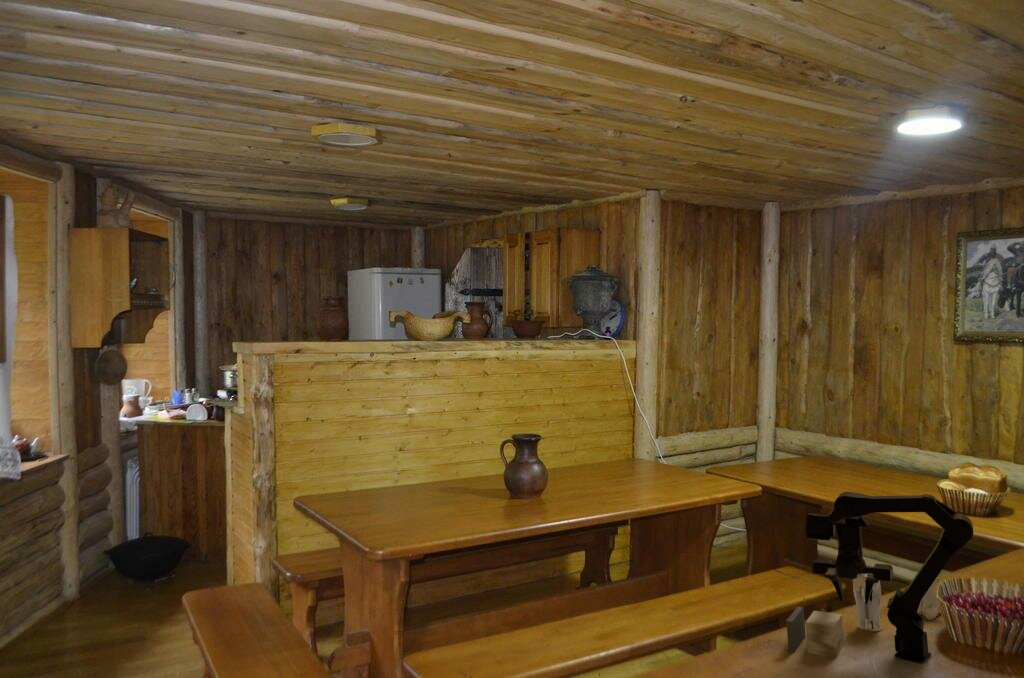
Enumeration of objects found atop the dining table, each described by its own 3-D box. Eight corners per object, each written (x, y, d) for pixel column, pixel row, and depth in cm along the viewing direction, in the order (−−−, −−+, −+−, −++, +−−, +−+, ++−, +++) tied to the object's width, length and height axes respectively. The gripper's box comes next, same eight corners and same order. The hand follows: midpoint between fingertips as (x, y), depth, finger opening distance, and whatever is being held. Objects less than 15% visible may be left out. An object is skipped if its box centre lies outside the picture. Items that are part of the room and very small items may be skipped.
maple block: (844, 644, 197) (841, 614, 198) (836, 658, 190) (834, 626, 190) (816, 640, 201) (814, 610, 202) (807, 653, 193) (805, 622, 194)
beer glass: (888, 627, 206) (884, 573, 207) (875, 634, 203) (870, 578, 203) (864, 621, 212) (861, 568, 213) (850, 627, 208) (846, 573, 209)
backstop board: (805, 636, 204) (803, 607, 204) (794, 652, 194) (792, 621, 194) (799, 635, 205) (797, 606, 205) (788, 651, 195) (786, 620, 195)
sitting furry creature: (902, 610, 219) (899, 569, 219) (923, 605, 222) (920, 564, 222) (930, 620, 210) (927, 577, 210) (952, 615, 213) (949, 572, 213)
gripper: (804, 546, 193) (809, 607, 193) (884, 553, 183) (889, 617, 182) (814, 536, 202) (819, 594, 202) (891, 542, 192) (896, 603, 191)
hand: (854, 602), depth 194 cm, fingers open, 6 cm apart
